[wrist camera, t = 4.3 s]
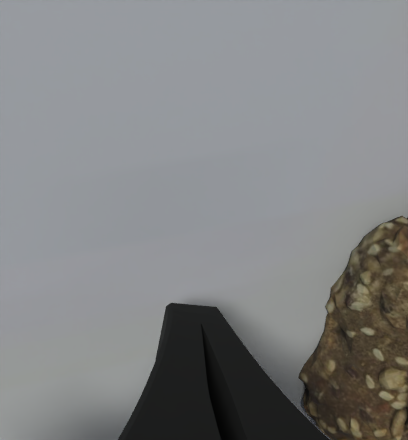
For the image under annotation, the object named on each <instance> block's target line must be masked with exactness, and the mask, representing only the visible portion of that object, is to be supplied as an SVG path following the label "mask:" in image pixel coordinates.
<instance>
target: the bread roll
mask: <svg viewBox="0 0 408 440" xmlns="http://www.w3.org/2000/svg"><path fill="white" fill-rule="evenodd" d="M326 309H327V310H328V314H327V316H326V323H325V330H324V332H323V334H322V337H321V339H320V342H319V345H318V347H317V349H316V350H315V352H314V353H313V354H312V355H311V356H310V358H309V359H308V360H307V362H306V363H305V364H304V366H303V368H302V370H301V372H300V374H299V379H301V380H302V381H303V382H304V385H305V386H306V389H305V393H304V397H303V401H304V408H305V410H306V412H307V414H308V415H309V416H310V417H311V418H313V419H314V420H315V421H316V426H318V428H319V429H320V430H321V431H322V432H323V433H324V434H325V435H326V436H328V437H329V438H330V439H332V440H408V218H405V217H403V216H400V217H398V218H395V219H393V220H391V221H388V222H386V223H382V224H381V225H379V226H378V227H377V228H375V229H374V230H372V231H371V232H370V233H368V234H367V235H366V236H364V238H363V239H362V241H361V242H360V244H359V246H358V247H356V248H355V249H354V250H353V251H352V253H351V256H350V259H349V263H348V266H347V268H346V270H345V271H344V272H343V274H342V275H341V276H340V277H339V279H338V280H337V282H336V283H335V284H334V285H333V286H332V287H331V297H330V299H329V301H328V303H327V305H326Z"/></svg>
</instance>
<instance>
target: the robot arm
mask: <svg viewBox="0 0 408 440" xmlns="http://www.w3.org/2000/svg"><path fill="white" fill-rule="evenodd" d="M118 440H329V439H328V438H327V437H326V436H325V435H323V434H322V433H321V432H320V431H319V430H318V429H317V428H316V427H315V426H314V425H313V424H312V423H311V422H310V421H309V420H308V419H307V418H306V417H305V416H304V415H303V414H302V413H301V412H300V411H299V410H298V409H297V408H296V407H295V406H294V405H293V404H292V403H291V402H290V400H289V399H288V398H287V397H286V396H285V395H284V394H283V393H282V392H281V390H280V389H279V388H278V387H277V386H276V385H275V384H274V382H273V381H272V380H271V379H270V378H269V377H268V375H267V374H266V373H265V372H264V371H263V369H262V368H261V367H260V366H259V364H258V363H257V362H256V360H255V359H254V358H253V357H252V355H251V354H250V353H249V351H248V350H247V349H246V347H245V346H244V345H243V343H242V342H241V341H240V339H239V338H238V336H237V335H236V334H235V332H234V331H233V329H232V328H231V327H230V325H229V324H228V322H227V321H226V320H225V318H224V317H223V315H222V314H221V313H220V311H219V310H218V308H217V307H209V306H198V305H188V304H177V303H170V304H169V305H167V306H166V310H165V315H164V320H163V325H162V330H161V335H160V340H159V345H158V351H157V356H156V362H155V364H154V367H153V369H152V371H151V374H150V376H149V379H148V381H147V384H146V386H145V388H144V390H143V393H142V395H141V397H140V399H139V401H138V403H137V405H136V407H135V409H134V411H133V413H132V415H131V417H130V419H129V421H128V423H127V425H126V426H125V428H124V430H123V432H122V434H121V435H120V437H119V439H118Z"/></svg>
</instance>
